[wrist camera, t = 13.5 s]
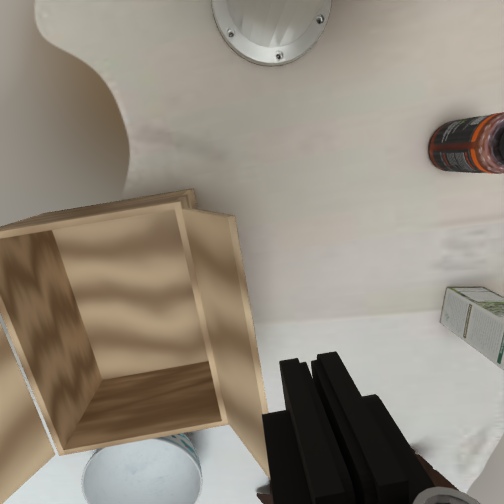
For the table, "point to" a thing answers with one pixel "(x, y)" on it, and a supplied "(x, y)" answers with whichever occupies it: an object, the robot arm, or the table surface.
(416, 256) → the table surface
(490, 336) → the syrup box
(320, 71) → the table surface
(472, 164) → the supplement bottle
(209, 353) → the carton
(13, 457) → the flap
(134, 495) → the chinaware
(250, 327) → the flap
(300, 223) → the table surface
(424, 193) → the table surface
